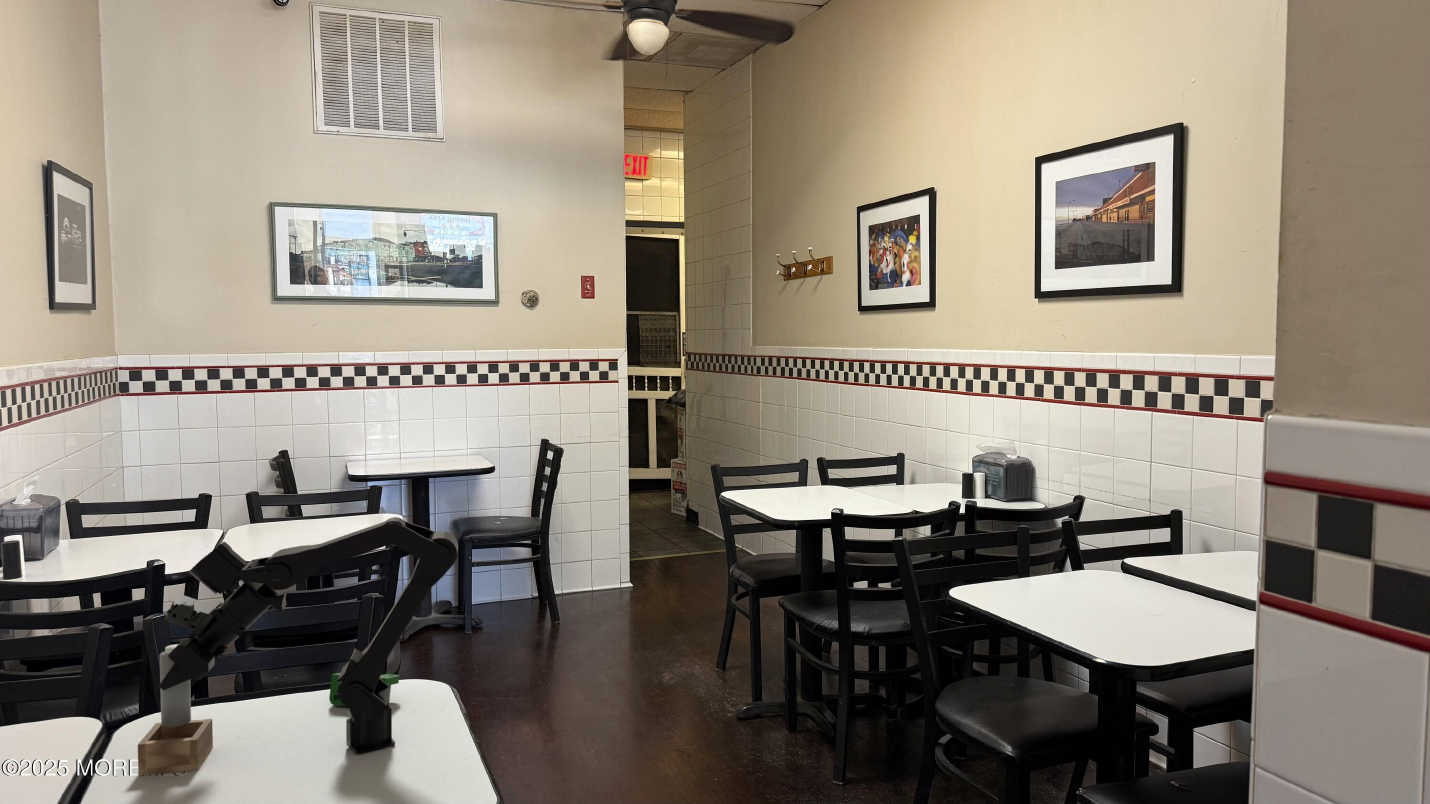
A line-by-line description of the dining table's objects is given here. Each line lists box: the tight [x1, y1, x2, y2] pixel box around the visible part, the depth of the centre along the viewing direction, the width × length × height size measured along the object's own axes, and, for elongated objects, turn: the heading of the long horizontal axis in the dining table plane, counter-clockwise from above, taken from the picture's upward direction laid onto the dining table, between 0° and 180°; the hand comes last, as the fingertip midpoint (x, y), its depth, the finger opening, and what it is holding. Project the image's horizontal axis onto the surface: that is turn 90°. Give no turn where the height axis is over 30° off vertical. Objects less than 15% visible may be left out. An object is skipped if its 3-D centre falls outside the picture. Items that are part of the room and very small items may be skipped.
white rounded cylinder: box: [159, 643, 192, 727], centre depth 150 cm, size 4×4×12 cm
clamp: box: [328, 672, 400, 707], centre depth 176 cm, size 12×6×9 cm, turn 74°
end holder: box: [137, 718, 214, 776], centre depth 150 cm, size 8×8×5 cm
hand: (166, 682), depth 150 cm, fingers closed on white rounded cylinder, 4 cm apart
